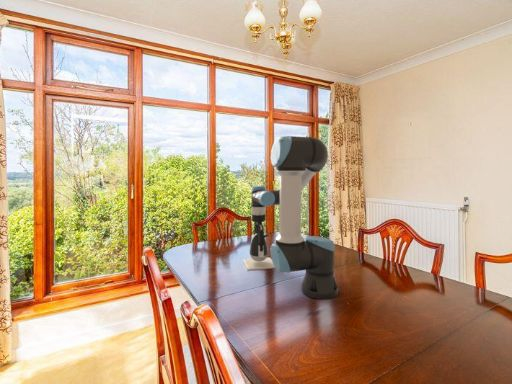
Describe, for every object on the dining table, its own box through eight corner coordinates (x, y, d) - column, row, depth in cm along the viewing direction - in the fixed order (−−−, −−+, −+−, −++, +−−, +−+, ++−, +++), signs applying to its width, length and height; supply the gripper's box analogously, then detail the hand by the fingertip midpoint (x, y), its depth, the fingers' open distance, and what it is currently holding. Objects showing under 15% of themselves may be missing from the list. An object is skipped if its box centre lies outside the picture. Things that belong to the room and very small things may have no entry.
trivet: (276, 267, 150) (276, 266, 150) (247, 270, 147) (247, 268, 147) (269, 258, 165) (269, 257, 165) (242, 260, 162) (242, 259, 162)
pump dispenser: (268, 262, 151) (268, 234, 149) (249, 263, 151) (248, 234, 150) (268, 257, 161) (268, 230, 160) (250, 257, 161) (249, 230, 160)
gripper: (270, 217, 143) (270, 259, 145) (261, 211, 166) (261, 248, 167) (255, 217, 142) (256, 260, 144) (248, 211, 164) (248, 249, 166)
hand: (259, 254), depth 156 cm, fingers closed on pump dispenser, 10 cm apart
